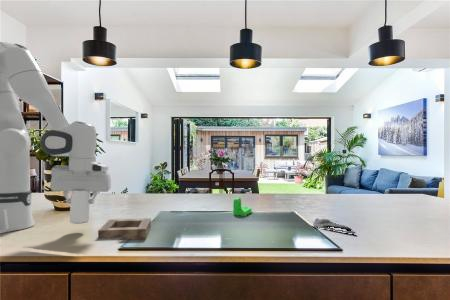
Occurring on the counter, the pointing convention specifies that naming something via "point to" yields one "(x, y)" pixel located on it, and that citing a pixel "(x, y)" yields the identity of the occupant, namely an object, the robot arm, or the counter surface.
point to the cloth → (330, 225)
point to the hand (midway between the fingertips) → (80, 203)
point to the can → (79, 206)
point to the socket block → (125, 229)
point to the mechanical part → (240, 208)
